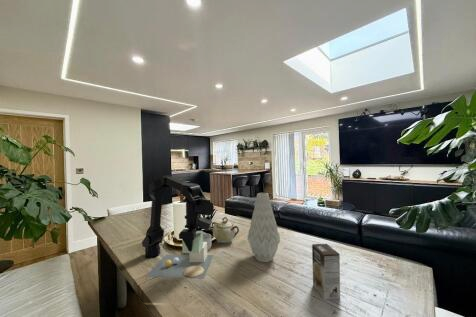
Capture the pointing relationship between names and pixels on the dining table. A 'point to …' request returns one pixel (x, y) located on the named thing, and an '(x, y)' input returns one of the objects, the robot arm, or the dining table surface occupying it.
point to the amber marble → (168, 263)
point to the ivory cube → (199, 254)
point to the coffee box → (326, 271)
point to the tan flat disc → (193, 271)
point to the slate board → (178, 267)
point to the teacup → (207, 240)
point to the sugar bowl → (224, 231)
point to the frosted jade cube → (194, 243)
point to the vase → (263, 230)
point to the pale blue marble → (175, 260)
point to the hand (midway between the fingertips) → (193, 247)
